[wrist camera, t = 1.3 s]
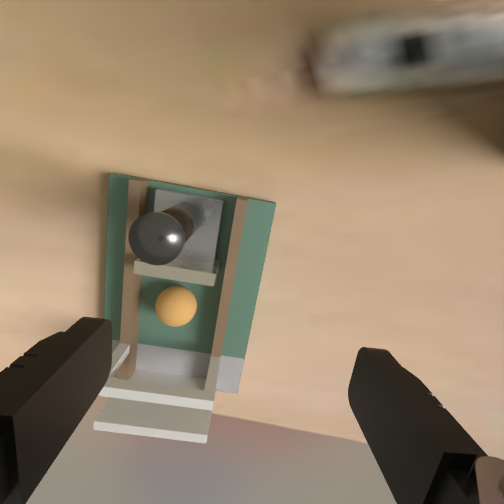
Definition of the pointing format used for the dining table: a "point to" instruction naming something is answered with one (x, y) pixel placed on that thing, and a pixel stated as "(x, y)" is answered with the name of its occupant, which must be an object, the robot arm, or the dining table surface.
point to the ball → (176, 306)
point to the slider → (178, 238)
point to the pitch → (182, 337)
